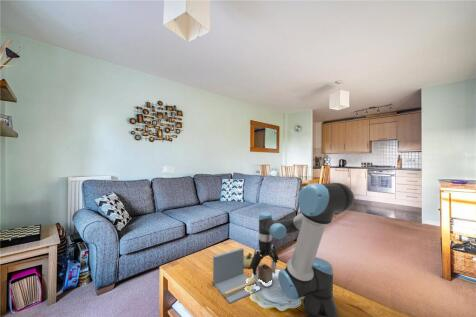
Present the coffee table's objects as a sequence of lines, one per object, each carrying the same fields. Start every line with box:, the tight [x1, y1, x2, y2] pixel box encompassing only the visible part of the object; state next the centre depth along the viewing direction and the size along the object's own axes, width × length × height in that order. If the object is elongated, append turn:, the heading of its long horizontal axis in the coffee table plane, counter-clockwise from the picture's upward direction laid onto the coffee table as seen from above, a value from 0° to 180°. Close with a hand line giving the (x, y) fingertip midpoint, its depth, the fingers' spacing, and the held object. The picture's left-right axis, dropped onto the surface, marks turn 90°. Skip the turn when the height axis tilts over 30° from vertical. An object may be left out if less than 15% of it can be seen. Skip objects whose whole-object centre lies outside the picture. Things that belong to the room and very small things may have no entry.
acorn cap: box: [244, 252, 253, 269], centre depth 135 cm, size 10×11×10 cm
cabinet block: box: [257, 263, 273, 283], centre depth 114 cm, size 7×5×10 cm
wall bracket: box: [212, 247, 257, 304], centre depth 111 cm, size 20×20×16 cm
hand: (264, 276), depth 115 cm, fingers open, 13 cm apart
